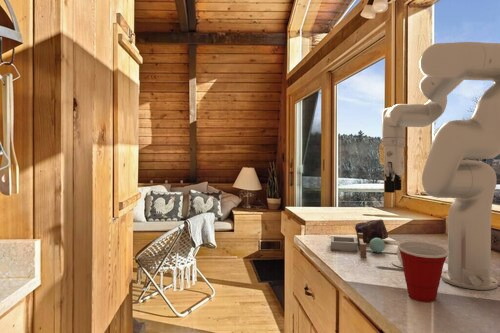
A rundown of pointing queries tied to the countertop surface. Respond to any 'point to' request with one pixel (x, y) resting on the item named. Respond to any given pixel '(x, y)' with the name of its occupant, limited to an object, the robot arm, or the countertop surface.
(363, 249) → the rail
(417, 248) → the plastic cup
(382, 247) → the ball
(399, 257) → the teacup
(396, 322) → the countertop surface
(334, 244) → the dish
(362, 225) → the rock
